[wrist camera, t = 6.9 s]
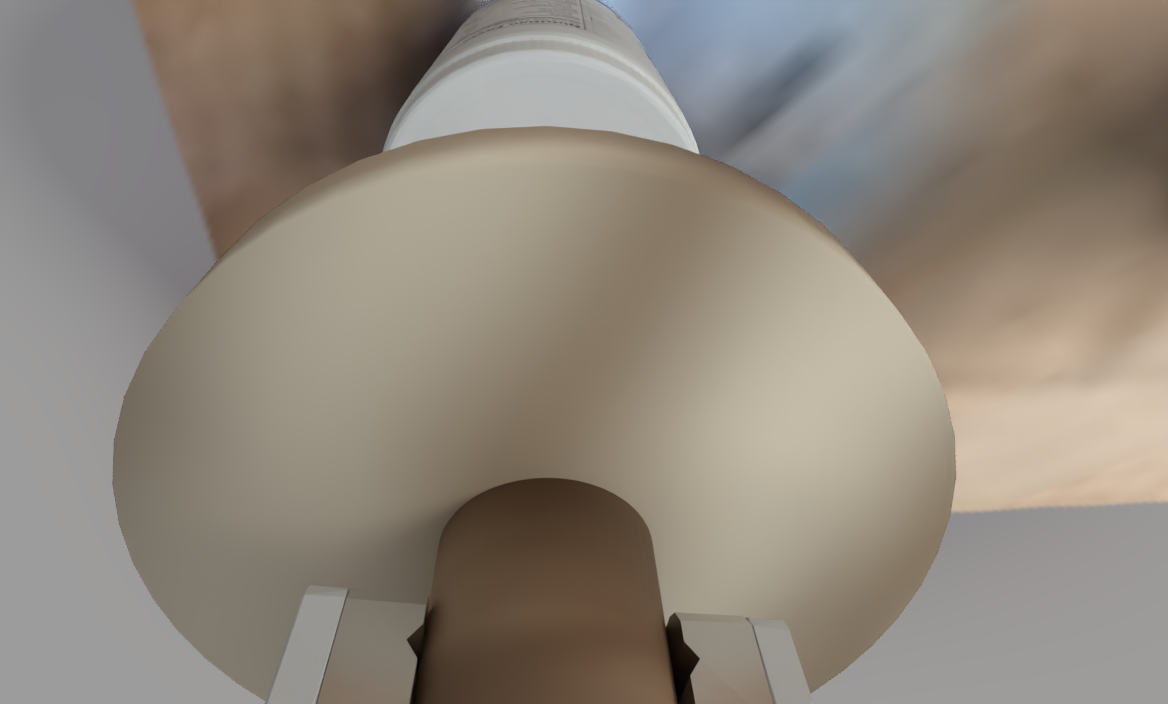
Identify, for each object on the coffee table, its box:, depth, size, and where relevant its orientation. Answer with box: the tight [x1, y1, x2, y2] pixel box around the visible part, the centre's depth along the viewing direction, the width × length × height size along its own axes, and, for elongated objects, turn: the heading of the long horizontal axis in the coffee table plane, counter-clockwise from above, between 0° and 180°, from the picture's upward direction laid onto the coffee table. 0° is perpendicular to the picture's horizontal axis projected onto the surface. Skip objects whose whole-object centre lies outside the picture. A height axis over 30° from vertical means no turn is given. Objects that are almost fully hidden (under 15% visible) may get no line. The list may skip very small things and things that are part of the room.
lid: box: [113, 126, 956, 704], centre depth 9 cm, size 12×12×6 cm
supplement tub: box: [383, 0, 699, 154], centre depth 26 cm, size 10×10×15 cm
